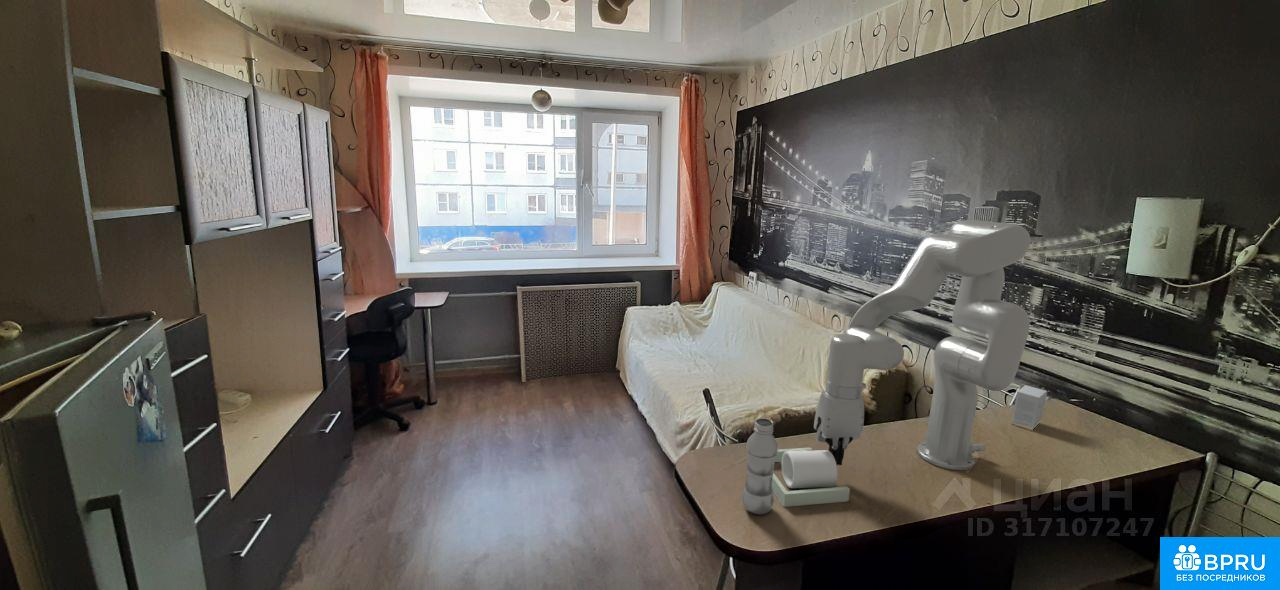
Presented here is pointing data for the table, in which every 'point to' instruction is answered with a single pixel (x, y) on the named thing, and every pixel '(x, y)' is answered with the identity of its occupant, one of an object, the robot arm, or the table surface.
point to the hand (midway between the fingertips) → (835, 462)
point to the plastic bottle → (760, 468)
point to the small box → (1029, 406)
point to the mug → (809, 468)
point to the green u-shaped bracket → (807, 491)
